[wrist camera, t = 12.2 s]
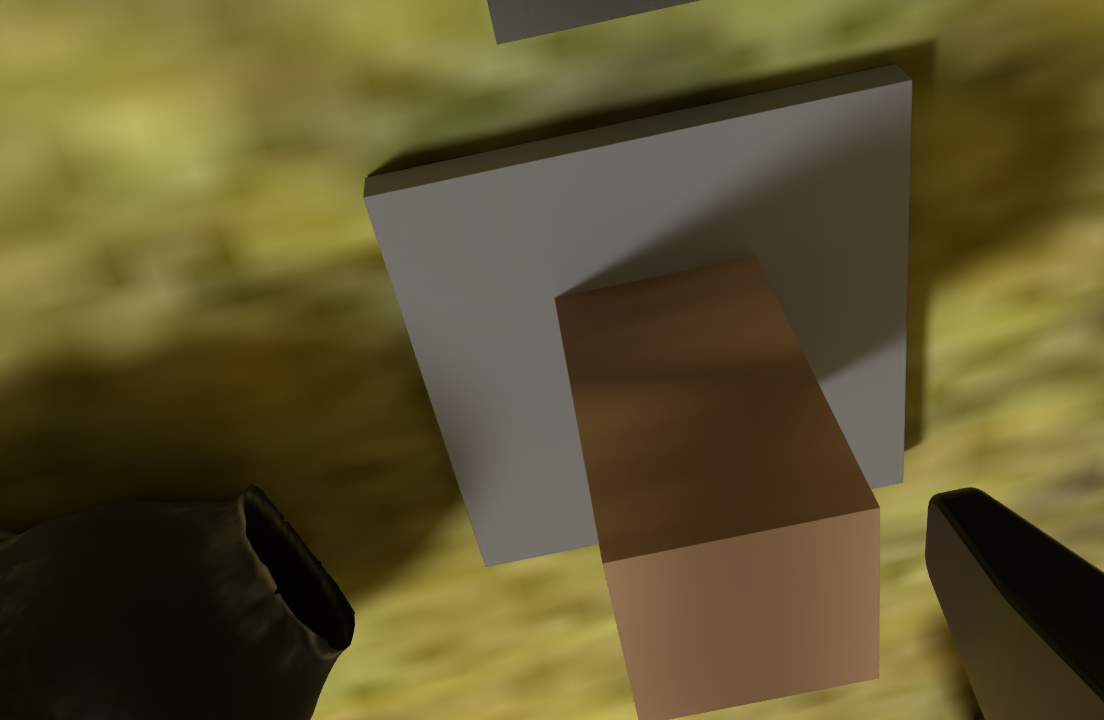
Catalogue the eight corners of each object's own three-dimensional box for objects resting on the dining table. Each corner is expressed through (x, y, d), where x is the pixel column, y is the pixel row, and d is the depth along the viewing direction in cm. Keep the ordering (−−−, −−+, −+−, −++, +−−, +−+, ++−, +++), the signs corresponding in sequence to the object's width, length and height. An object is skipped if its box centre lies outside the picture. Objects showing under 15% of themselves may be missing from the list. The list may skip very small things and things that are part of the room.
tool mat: (484, 542, 26) (485, 567, 25) (365, 178, 20) (363, 197, 19) (891, 460, 25) (903, 482, 25) (895, 63, 19) (912, 80, 19)
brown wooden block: (587, 447, 23) (639, 725, 17) (554, 298, 21) (603, 563, 15) (767, 410, 23) (878, 678, 17) (755, 255, 20) (879, 507, 15)
